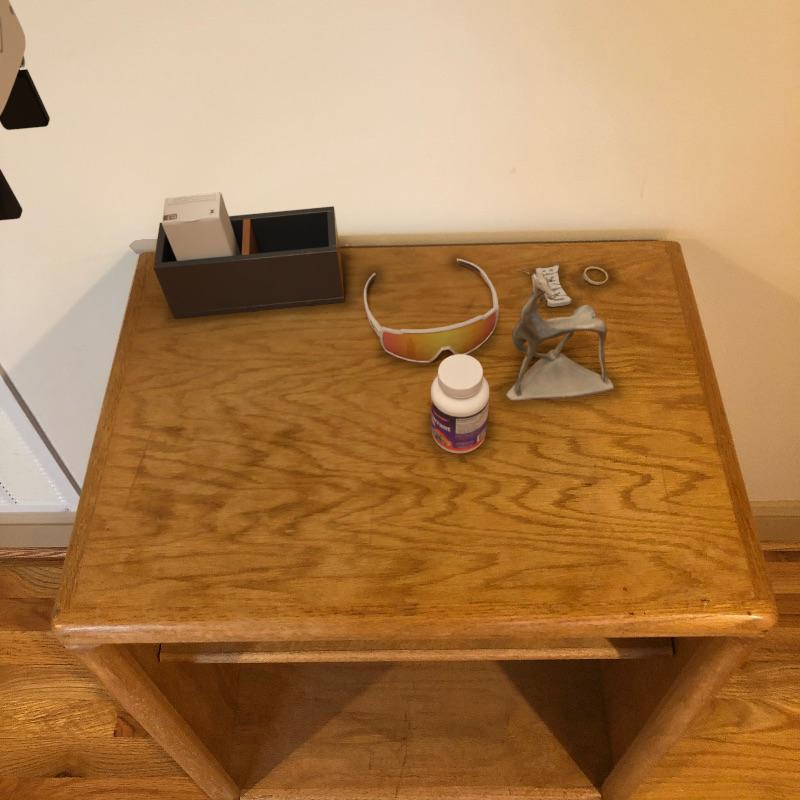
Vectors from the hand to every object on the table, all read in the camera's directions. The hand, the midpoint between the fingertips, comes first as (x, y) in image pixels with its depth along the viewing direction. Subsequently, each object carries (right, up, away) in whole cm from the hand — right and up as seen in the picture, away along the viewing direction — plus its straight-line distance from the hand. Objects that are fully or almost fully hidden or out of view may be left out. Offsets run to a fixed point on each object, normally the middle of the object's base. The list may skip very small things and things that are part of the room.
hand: (14, 169), depth 52 cm
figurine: (+42, -13, +29) cm, 52 cm away
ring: (+48, -2, +36) cm, 60 cm away
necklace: (+42, -3, +36) cm, 55 cm away
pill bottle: (+32, -19, +25) cm, 44 cm away
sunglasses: (+29, -6, +34) cm, 45 cm away
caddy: (+10, -2, +38) cm, 39 cm away
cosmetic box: (+5, -3, +37) cm, 37 cm away
